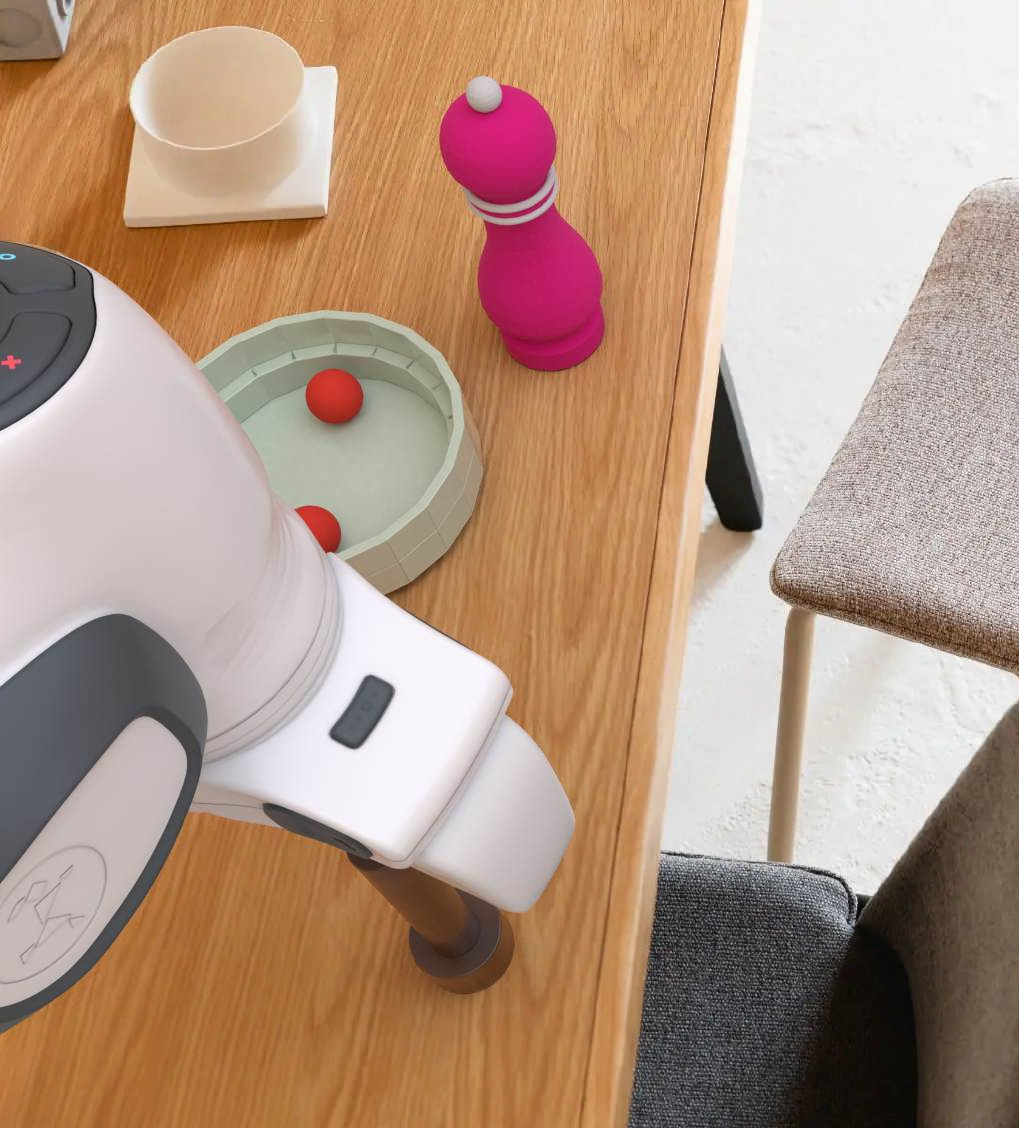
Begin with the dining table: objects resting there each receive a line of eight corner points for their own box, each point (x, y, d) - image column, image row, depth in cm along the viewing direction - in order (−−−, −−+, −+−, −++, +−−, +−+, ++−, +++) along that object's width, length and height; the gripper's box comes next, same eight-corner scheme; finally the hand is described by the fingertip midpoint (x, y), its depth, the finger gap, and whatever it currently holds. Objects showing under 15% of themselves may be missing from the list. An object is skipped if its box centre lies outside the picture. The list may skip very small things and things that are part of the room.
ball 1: (350, 441, 88) (333, 410, 85) (305, 424, 89) (286, 391, 86) (380, 400, 89) (364, 368, 86) (335, 383, 90) (318, 350, 87)
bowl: (381, 664, 82) (350, 618, 77) (124, 554, 85) (79, 504, 80) (539, 424, 89) (520, 368, 84) (297, 332, 93) (265, 274, 88)
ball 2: (328, 581, 83) (309, 553, 81) (279, 561, 84) (259, 532, 81) (359, 536, 85) (342, 506, 82) (312, 516, 85) (293, 486, 83)
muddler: (485, 1008, 73) (392, 913, 59) (407, 971, 73) (297, 869, 60) (530, 926, 74) (451, 814, 61) (454, 891, 75) (359, 773, 61)
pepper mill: (490, 381, 91) (399, 136, 73) (500, 287, 94) (415, 32, 77) (610, 376, 91) (547, 130, 73) (615, 283, 94) (556, 27, 77)
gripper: (-132, 618, 46) (80, 779, 58) (442, 881, 42) (541, 995, 54) (2, 458, 49) (177, 643, 61) (554, 689, 44) (624, 839, 56)
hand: (352, 810), depth 57 cm, fingers open, 8 cm apart
